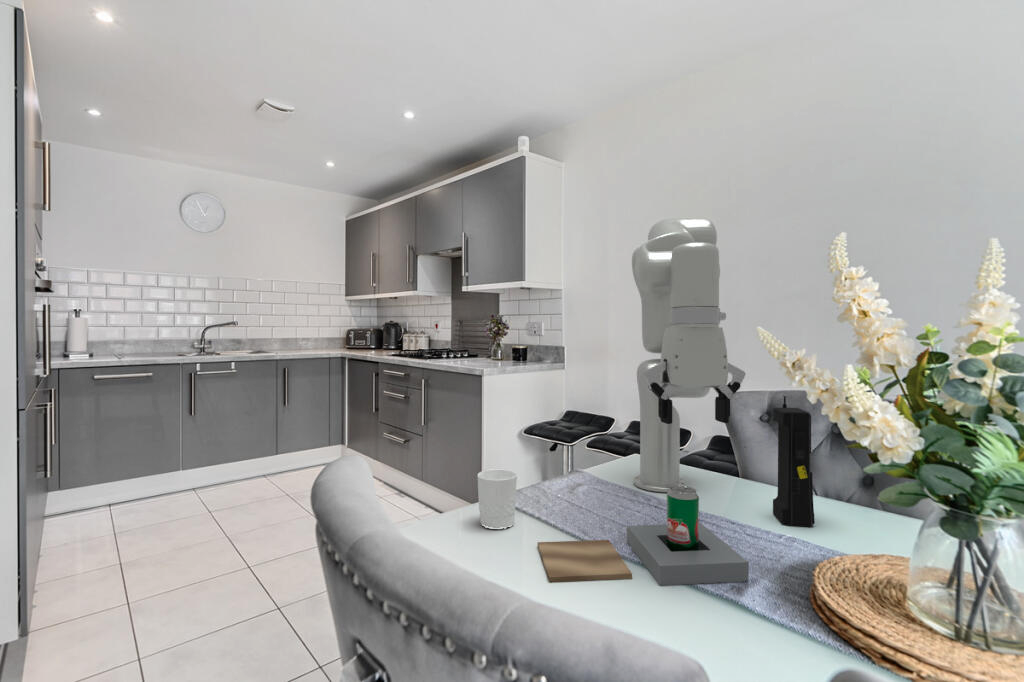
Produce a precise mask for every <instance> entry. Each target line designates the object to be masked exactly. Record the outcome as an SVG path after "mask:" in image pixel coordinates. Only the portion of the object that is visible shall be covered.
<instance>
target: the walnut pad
mask: <svg viewBox="0 0 1024 682" xmlns="http://www.w3.org/2000/svg"><path fill="white" fill-rule="evenodd" d="M537 549H539V550H538V552H540V553H539V556H540V555H541V556H540V559H541V562H542V563H543V567H544V571H545V574H546V577H547V580H548V582H549V583H561V582H562V583H565V582H567V583H568V582H585V581H587V582H588V581H608V580H609V581H610V580H632V579H633V573H632V571H631V570H630V568H629V567H628V565H627V564H626V563H625V561H624V560H623V558H622V556H621V555H620V554H619V552H618V550H616V548H615V547H614V545H613V544H612V542H611V541H610V539H593V540H592V539H591V540H569V541H567V540H566V541H565V540H563V541H561V540H560V541H537Z"/></svg>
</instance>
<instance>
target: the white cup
mask: <svg viewBox="0 0 1024 682" xmlns="http://www.w3.org/2000/svg"><path fill="white" fill-rule="evenodd" d="M517 481H518V474H517V472H515V471H513V470H509V469H500V468H495V469H493V468H492V469H487V470H482V471H479V472H478V473H477V493H478V495H477V496H478V497H477V499H478V510H479V523H480V522H481V524H483V525H485V526H488V527H493V528H500V527H507V526H510V525H512V524H513V523H514V524H515V514H516V513H515V512H516V502H517V485H518V483H517ZM481 524H480V525H481ZM514 524H513V525H514Z"/></svg>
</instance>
